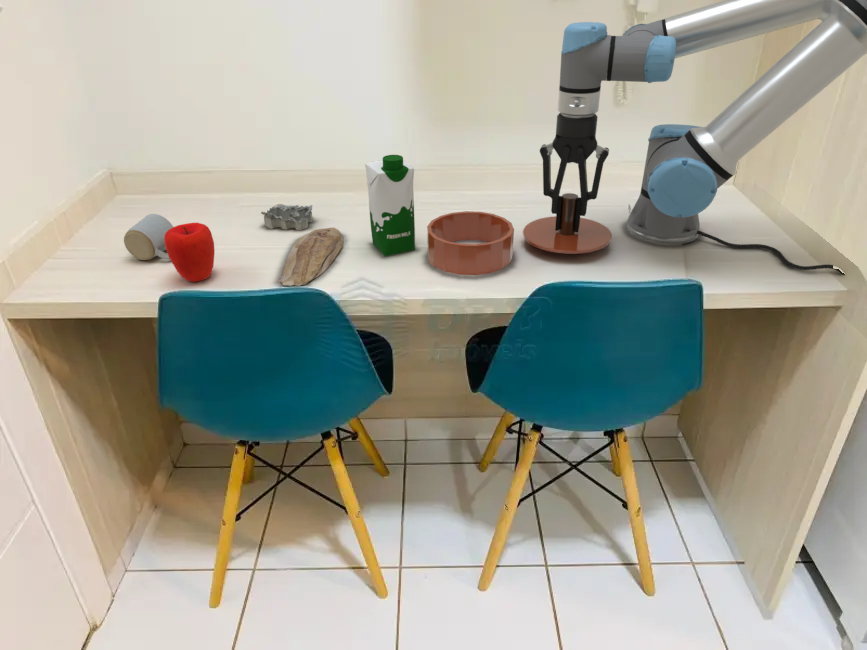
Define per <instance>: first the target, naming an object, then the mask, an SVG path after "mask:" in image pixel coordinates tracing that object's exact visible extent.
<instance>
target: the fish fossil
mask: <svg viewBox="0 0 867 650" xmlns="http://www.w3.org/2000/svg"><path fill="white" fill-rule="evenodd" d="M343 246H344V236H343V234H342V233H341V231H340V230H339V229H337V228H336V227H326V228H319V229H314V230H311V231H310V232H308V233H307V234H305V235H303V236H302V237H300V238H298V239H297V240H296V241H295V243H294V244H293V246H292V247H291V248H290V251H289V254H288V256H287V258H286V260H285V263H284V265H283V268H282V271H281V274H280V278H279V279H278V282H280V283H281V284H282V286H290V287H292V286H297V287H300V286H305V285H307V284H308V283H309V282H310V281H313V280H315V279H316V278H318V277H320V276H321V275H322V274H323V273H324V272H325V271H326V270H328V268H329V267H330V265H331V264H332V263H333V261H334V260H335V259H336V257H337V256H338V254H339V253H340V252H341V250H342V248H343Z"/></svg>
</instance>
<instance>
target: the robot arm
mask: <svg viewBox="0 0 867 650" xmlns="http://www.w3.org/2000/svg"><path fill="white" fill-rule="evenodd" d="M815 20H820V21H821V22H820V23H819V24H818V25H817V26H815V27H814V28H813V29H812V30H811V31H810V32H809V33H807V35H805V36H804V37H803V38H802V39H801V40H800V41H798V43H797V44H795V45H794V46H793V47H792V48H791V49H790V50H789V51H788V52H786V54H785V55H784V56H782V57H781V58H779V60H778V61H776V62H775V63H774V64H773V65H772V66H771V67H770V68H769V69H768V70H767V71H765V73H763V74H762V75H761V76H760V77H759V78H758V79H756V81H754V82H753V83H752V84H751V85H750V86H749V87H748V88H747V89H746V90H745V91H744V92H742V93H741V94H740V95H739V96H738V97H737V98H735V100H734V101H732V102H731V103H730V104H729V105H728V106H726V108H725V109H723V111H721V112H720V113H719V114H718V115H716V117H714V118H713V119H712V120H711V121H710V122H709V123H708V124H707V125H705V126H698V125H692V124H691V125H690V124H676V123H675V124H674V123H666V124H658V125H655V126H653V127H652V128H651V130H650V134H649V137H648V140H647V141H648V145H647V152H646V157H645V158H646V159H645V164H644V169H643V175H642V181H641V188H640V193H639V196H638V198H637V200H636V202H635V204H634V206H633V207H632V208H631V204H628V207H627V210H628V213H629V214H628V218H627V220H626V230H627V232H629V233H630V234H631V235H633V236H634V237H637V238H640V239H641V240H645V241H648V242H653V243H659V244H671V245H672V244H682V245H685V244H689V243H692V242H694V241H696V240H697V239H698V237H699V236H702V237H704V238H708V239H710V240H712V241H715V242H716V243H718V244H721V245H723V246H726V247H730V248H734V249H735V248H736V249H753V248H754V249H755V248H756V249H764V250H768V251H771V252H773V253H774V254H776V256H777V257H778V258H779V259H780V260H781V262H783V263H784V264H785V265H786V266H788V267H790V268H793V269H795V270H799V271H801V270H802V271H811V270H820V269H821V270H822V269H831V270H834V271H836V272H838V273H839V274H840V275H842V276H846V275H845V274H844V273H842V272H841V271H840V270H839V269H833V265H834V264H816V265H799V264H795V263H792V262H791V261H789V260H788V259H787V258H786V257H785V256H784V254H783V253H782V252H781V251H780V250H779V249H777V248H775V247H774V246H771V245H766V244H760V243H748V244H737V243H731V242H727V241H726V240H723V239H721V238H719V237H716V236H714V235H712V234H709V233H706V232H703V231H702V230H701V231H700V228H701V227H700V218H699V214H700V213H702V212H703V211H705V210H706V209H707V208H708V207H709V206H710V205H711V204H712V203H713V201H714V199H715V198H716V195H717V192H718V189H719V188H721V187H722V186H723V185H724V184H725V183H727V181H729V180H730V179H731V178H732V177H733V176H735V174H736V173H737V167H738V166H737V165H738V162H739V160H741V159H742V158H743V157H745V156H746V155H747V154H748V153H749V152H751V151H752V150H753V149H754V148H755V147H756V146H758V145H759V144H760V143H761V142H763V140H765V139H766V138H767V137H768V136H770V135H771V134H772V133H773V132H774V131H775V130H777V129H778V128H779V127H780V126H781V125H783V124H784V123H785V122H786V121H787V120H789V119H790V118H791V117H792V116H794V115H795V114H796V113H797V112H798V111H799V110H800V109H802V108H803V107H804V106H805V105H806V104H808V103H809V102H811V100H813V99H814V98H815V97H816V96H817V95H818V94H820V93H821V92H822V91H823V90H824V89H825V88H827V87H828V86H829V85H830V84H832V83H833V82H834V81H835V80H836V79H838V78H839V77H841V75H842V74H844V73H845V72H846V71H847V70H848V69H850V68H851V67H852V66H853V65H854V64H856V63H857V62H858V61H859V60H860V59H862V58H863V57H864V56H865V55H867V0H721V1H717V2H714V3H711V4H708V5H705V6H701V7H698V8H695V9H691V10H688V11H685V12H682V13H678V14H675V15H672V16H669V17H665V18H663V19H658V20H656V21H652V22H649V23H638V24H635V25H632V26H630V27H629V28H628V29H627V30H626V31H625V32H624V33H623V35H611V34H608V28H607V25H606V23H603V22H597V21H596V22H595V21H579V22H571V23H569V24H568V25H567V26H566V27H565V28H564V31H563V37H562V45H561V53H560V68H559V69H560V71H559V87H558V100H557V111H558V114H557V116H556V124H555V125H556V127H555V137H554V139H553V140H552V142H550V143H547V144H546V143H545V144H542V145H541V146H540V149H539V153H540V156H541V159H542V188H543V190H542V191H543V192H542V193H543V195H544V196H545V197H550V198H551V208H550V212H551V214H553V215H555V216H556V226H555V230H557V231H559V228H560V216H561V204H562V195H560V193H561V189H562V185H563V182H564V177H565V173H566V169H567V166H568V164H571V163H574V164H577V167H578V177H579V188H580V190H579V191H580V196H578V201H577V208H576V219H575V229H574V232H578V230H579V224H580V218H581V217H585V216H586V214H587V209H588V202H589V201H590V200H596V199H597V198H598V194H599V193H598V192H599V187H600V183H601V178H602V173H603V168H604V163H605V161H606V159H607V158H608V156H609V153H610V148H608V147H603V146H601V145H599V144H598V141H597V138H596V134H597V126H598V115H597V113H598V112H599V107H600V99H601V88H602V82H635V83H637V82H638V83H648V84H651V83H663V82H668V81H669V80H670V79H671V77H672V74H673V70H674V65H675V60H676V59H678V58H681V57H686V56H689V55H692V54H696V53H700V52H703V51H707V50H711V49H714V48H718V47H721V46H722V47H723V46H725V45H729V44H732V43H736V42H740V41H744V40H747V39H750V38H754V37H758V36H761V35H766V34H769V33H772V32H776V31H780V30H784V29H787V28H791V27H795V26H798V25H801V24H805V23H808V22H812V21H815ZM553 150H554V151H555V152H556V154H557V156H558V157H559V159H560V163H559V168H558V170H557V175H556V179H555V183H554V186H553V188H552V157H551V156H552V154H553ZM594 152H595V159H597V162H596V167H595V171H594V176H593V182H592V186H591V191H589V189H588V188H589V185H588V171H587V160H588V159H589V157H591V155H592V154H593V153H594Z"/></svg>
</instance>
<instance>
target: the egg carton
mask: <svg viewBox="0 0 867 650" xmlns="http://www.w3.org/2000/svg"><path fill="white" fill-rule="evenodd" d="M260 214H261V215H262V216H263V222H264V226H265V227H266V228H268V229H270V230H273V229H275V228H281V229H282V230H289V229H296V231H301V230H305V229H308V227H309V223H312V222H313V221H314V220H313V204H311V205H305V206H304V205H301V206H299V204H296V205H291V204H290V205H286V204H282V203H278V204H275V205H273V206H272V207H269V209H267V211H261V212H260Z"/></svg>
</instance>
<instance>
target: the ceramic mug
mask: <svg viewBox="0 0 867 650" xmlns="http://www.w3.org/2000/svg"><path fill="white" fill-rule="evenodd" d="M173 227H174V226H173V224H172V223H171V221H169V220H168V219H167V218H166V217H164V216H163V215H160V214H158V213H149V214H147V215H146V216H144V217H143V218H142V219H140V220H139V221H137V223H135V224H134V225H133V226H132V227H130V228H129V229H128V230H127V231H126V233H125V234H124V236H123V244H124V247H125V249H126V250H127V251H128V253H129V254H130V255H131V256H132V257H134V258H135V259H137V260H140V261H148V260H152V259H154V258H156V257H159V258H161V259H164V260H170V258H169V256H168V253H167V252H165V251H167V250H166V247H165V234H166V232H167V231H168V230H169V229H171V228H173Z"/></svg>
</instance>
